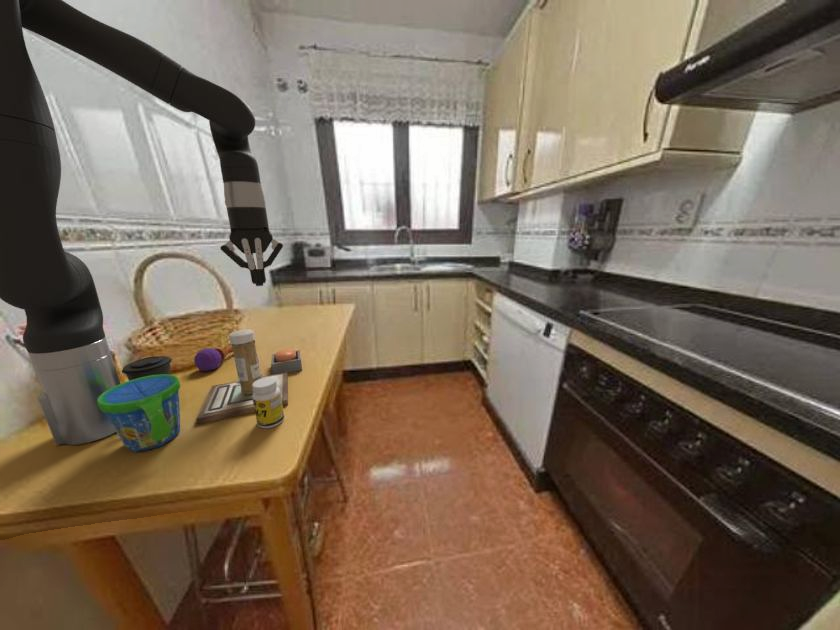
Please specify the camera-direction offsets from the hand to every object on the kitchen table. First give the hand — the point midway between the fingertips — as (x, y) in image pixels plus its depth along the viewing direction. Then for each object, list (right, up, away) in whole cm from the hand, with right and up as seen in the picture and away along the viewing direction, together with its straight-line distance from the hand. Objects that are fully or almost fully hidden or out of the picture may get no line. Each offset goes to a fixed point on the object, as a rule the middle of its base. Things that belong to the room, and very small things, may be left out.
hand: (259, 285), depth 72 cm
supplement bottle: (+9, -27, -12) cm, 31 cm away
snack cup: (-10, -29, -17) cm, 35 cm away
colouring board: (-1, -25, -4) cm, 25 cm away
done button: (+2, -20, +11) cm, 23 cm away
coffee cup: (-19, -26, -5) cm, 33 cm away
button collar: (+2, -21, +11) cm, 24 cm away
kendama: (-18, -20, +18) cm, 32 cm away
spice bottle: (0, -24, -4) cm, 24 cm away
